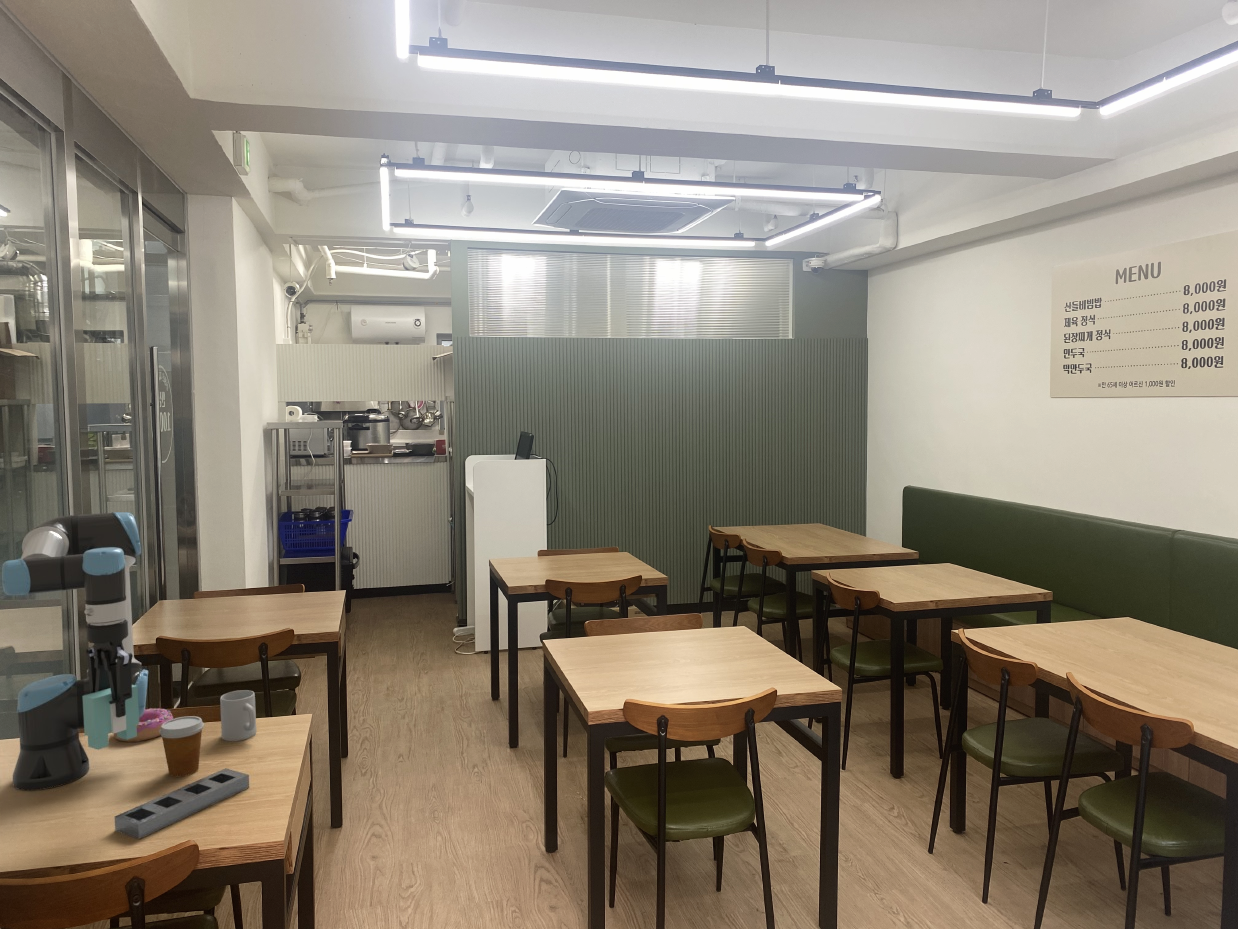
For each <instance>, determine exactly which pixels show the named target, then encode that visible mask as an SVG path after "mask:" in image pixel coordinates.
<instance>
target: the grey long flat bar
mask: <svg viewBox="0 0 1238 929" xmlns="http://www.w3.org/2000/svg"><path fill="white" fill-rule="evenodd" d="M246 789H250V775H249V774H247V773H244V772H240V771H237V770H234V769H229V768H227V767H226V768H224V769H221V770H219V771H216V772H213V773H212V774H209V775H207V776H205V777H203V778H200V779H198V780H195V781H193V782H191V783H189V784H186V785H184V786H181V787H178V788H177V789H175V790H173V791H170V792H167V793H166V794H164V795H161V796H159V797H156V798H155V799H154V798H153V799H152V800H149V801H147V802H144V803H142V804H139V805H138V806H136V807H133V808H131V809H129V810H126V811H124V812H122V813H119V814H117V815H115V816H114V828H115V829H114V830H115V832H119V833H121V834H123V835H127V836H130V837H132V838H135V839H137V840H140V839H141V840H142V839H143V838H145V837H147V836H149V835H150V834H154V833H155V832H157V831H159V830H162V829H163V828H166V827H168V826H170V825H172V824H175V823H177V822H179V821H181V820H184V819H185V818H187V817H189V816H192V815H194V814H196V813H198V812H201V811H202V810H205V809H206V808H210V807H211V806H213V805H216V804H217V803H220V802H221V801H224V800H227V799H228V798H230V797H232V796H234V795H236V794H238V793H241V792H243V791H245V790H246Z"/></svg>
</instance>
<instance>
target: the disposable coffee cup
mask: <svg viewBox="0 0 1238 929" xmlns="http://www.w3.org/2000/svg"><path fill="white" fill-rule="evenodd" d="M204 726H205V723H204V722H203V719H202V718H201V717H199V716H195V715H192V716H189V715H187V716H180V717H175V718H173V719H172V720H169V721H167V722H165V723H163V724H162V726H161V729H160V731H159V733H160V734H161V735H160V736H161V738H162V743H163V748H164V753H165V759H166V764H167V768H168V769H167V770H168V774H169V776H170V777H175V778H178V777H185V776H189V775H193V774H194V773H196V772H197V771H198V770H199V768H200V767H199V766H200V756H201V755H200V754H201V745H202V735H203V734H202V733H203V732H202V731H203V729H204Z"/></svg>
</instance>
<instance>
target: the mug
mask: <svg viewBox="0 0 1238 929" xmlns="http://www.w3.org/2000/svg"><path fill="white" fill-rule="evenodd" d="M255 696H256V695H255V692H254V691H253V690H248V689H243V690H241V689H240V690H233V691H229V692H227V693H224V694H222V695H220V700H219V702H220V721H221V722H220V724H221V726H220V727H221V730H220V731H221V732H220V733H221V739H222V740H223V741H225V742H239V741H240V742H241V741H244V740H247V739H250V738H252V737H254V736H255V735H256V734H257V718H256V717H257V714H256V697H255Z"/></svg>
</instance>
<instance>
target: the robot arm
mask: <svg viewBox="0 0 1238 929" xmlns="http://www.w3.org/2000/svg"><path fill="white" fill-rule="evenodd" d="M21 549H22V550H21V551H22V554H21V557H20V558H17V559H10V560H6V561H4V562H3V564H2V568H1V582H2V584H1V585H2V590H3V593H4V594H5V595H7V596H27V595H33V594H35V595H36V594H43V593H52V592H60V591H61V592H63V591H72V590H83V589H84V599H85V600H84V604H85V609H84V611H83V612H84V614H85V620H86V623H88V624H87V625H86V628H85V629H86V641H87V642H88V643H89V644H93V645H92V647H89V648H86V649H85V655H86V659H87V668H88V669H87V670H86V678H83V679H77V676H76V675H75V674H72V673H67V674H57V675H53V676H48V677H46V678H45V677H44V678H42V679H39V680H36V681H34V682H31V683H29V684H27V685H25V686H24V687H23V688H22V689H21V690H19V692H18V695H17V708H16V712H17V716H18V732H19V736H18V737H19V753H18V757H17V761H16V764H15V767H14V770H13V773H12V786H13V788H14V789H17V790H21V791H38V790H45V789H46V790H47V789H52V788H56V787H60V786H62V785H66V784H68V783H71V782H74V781H76V780H79V779H81V778H82V777H83V776H85V775H86V774H88V772H89V771H90V760H89V756H88V755H87V752H86V749H85V748H84V747H83V745H82V742H81V740H80V731H79V730H81V729H83V730H84V714H83V696H84V695H88V694H91V693H95V692H98V691H102V690H105V689H109V688H111V694H112V700H113V701H109V703H110V712H111V731H112V733H111V734H113V735H114V733H117V732H120V731H123V730H126V708H125V701H126V700H127V699H129V698H132V685H135V686H137V689H138V708H139V718H140V717H141V716H142V715H143V714H144V712H145V709H146V704H147V702H146V701H147V692H148V681H149V680H148V679H149V670H147V669H145V668H144V669H142V662H140V661H138V660H137V659H136V658H135V654H134V637H133V636H134V634H133V616H132V615H133V614H132V596H131V595H132V594H131V593H132V592H131V579H130V574H131V573H130V567H132V566H133V565H134V564H135V563H136V557H137V556H139V555H141V554H142V546H141V541H140V536H139V530H138V525H137V522H136V518H135V516H134V515H133V513H130V512H121V511H120V512H116V511H111V512H105V513H90V514H89V513H88V514H75V515H73V514H71V515H70V514H69V515H62V516H57V517H55V518H52V519H49V520H45V521H43V522H41V523H39V524H38V525H36V526H35V527H32V529H31V530H29V531H28V532H27V533H26V534H25V536H24V537H23V541H22V544H21Z"/></svg>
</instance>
